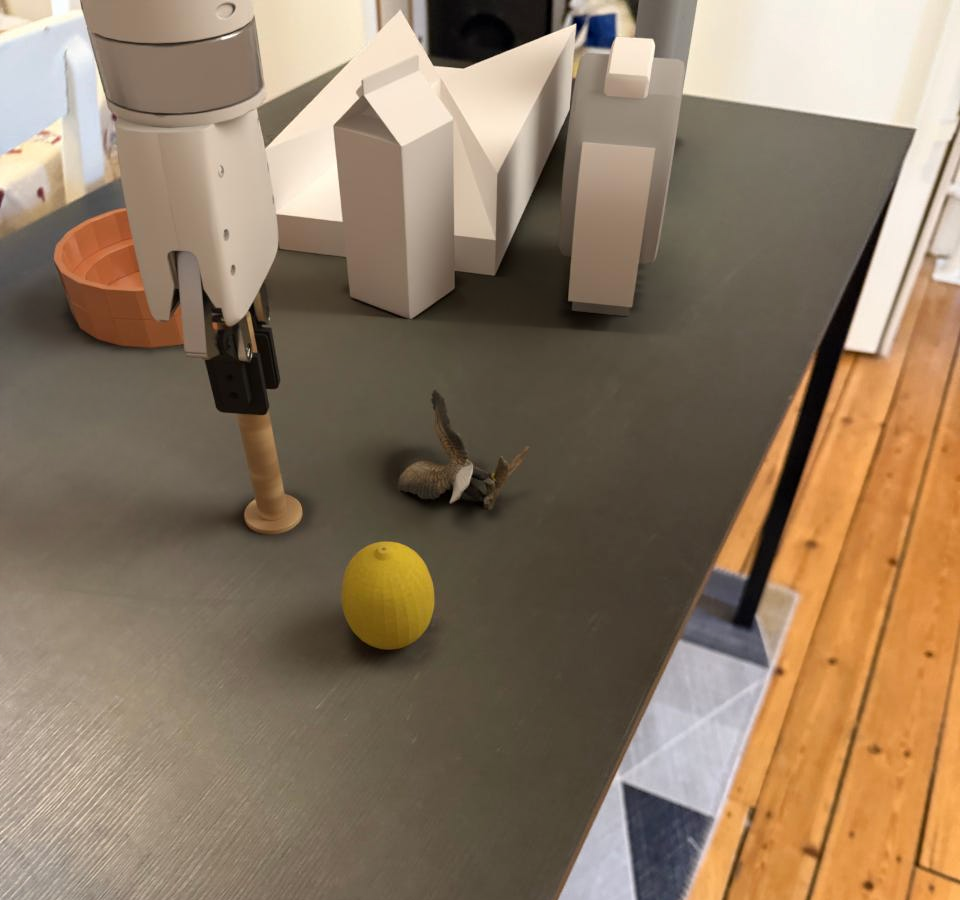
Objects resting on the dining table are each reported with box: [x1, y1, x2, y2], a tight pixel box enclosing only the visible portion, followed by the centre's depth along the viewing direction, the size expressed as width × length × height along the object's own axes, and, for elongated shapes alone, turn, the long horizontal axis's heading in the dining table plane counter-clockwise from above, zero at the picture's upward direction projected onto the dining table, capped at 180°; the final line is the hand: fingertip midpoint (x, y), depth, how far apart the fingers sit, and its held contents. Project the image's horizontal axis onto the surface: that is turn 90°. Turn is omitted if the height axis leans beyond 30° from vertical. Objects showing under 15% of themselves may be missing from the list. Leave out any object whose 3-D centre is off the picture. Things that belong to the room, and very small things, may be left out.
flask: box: [633, 0, 699, 101], centre depth 96 cm, size 17×5×25 cm, turn 162°
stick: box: [216, 311, 304, 535], centre depth 59 cm, size 4×4×16 cm
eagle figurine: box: [397, 388, 530, 510], centre depth 65 cm, size 8×7×9 cm
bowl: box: [53, 207, 217, 349], centre depth 82 cm, size 16×16×6 cm
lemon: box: [340, 541, 435, 651], centre depth 55 cm, size 6×6×8 cm
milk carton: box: [333, 55, 456, 320], centre depth 79 cm, size 7×7×19 cm
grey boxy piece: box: [558, 36, 685, 317], centre depth 80 cm, size 18×8×20 cm, turn 170°
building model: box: [265, 9, 577, 277], centre depth 102 cm, size 45×22×10 cm, turn 167°
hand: (249, 396), depth 57 cm, fingers closed on stick, 2 cm apart
